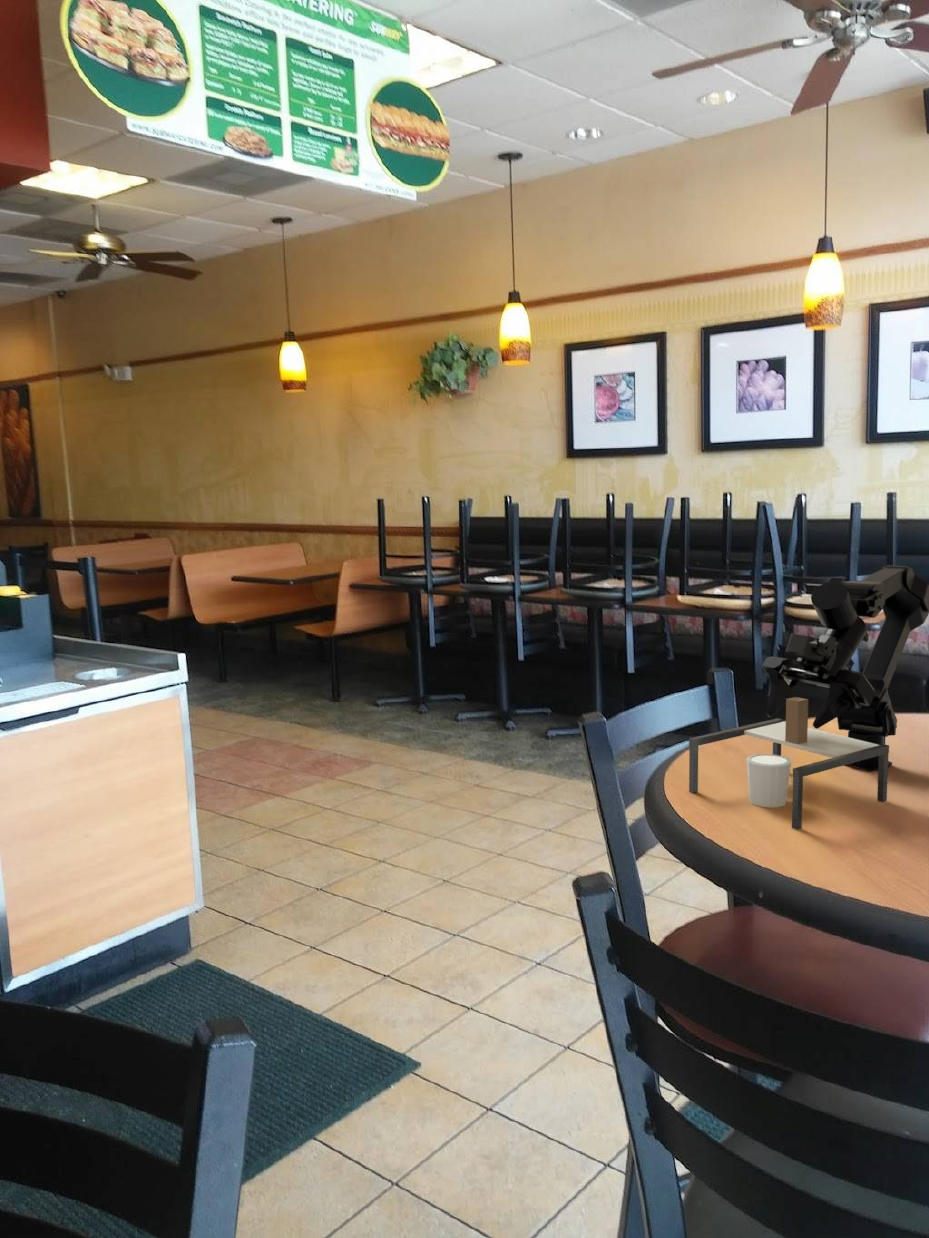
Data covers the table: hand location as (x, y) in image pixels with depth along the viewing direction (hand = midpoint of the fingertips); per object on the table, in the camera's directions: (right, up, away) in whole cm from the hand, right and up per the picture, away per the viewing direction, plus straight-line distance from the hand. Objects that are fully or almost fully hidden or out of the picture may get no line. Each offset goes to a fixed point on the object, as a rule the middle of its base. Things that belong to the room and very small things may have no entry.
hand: (790, 721), depth 162 cm
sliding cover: (+4, -4, +3) cm, 6 cm away
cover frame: (0, -12, +1) cm, 12 cm away
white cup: (-4, -13, -1) cm, 14 cm away
